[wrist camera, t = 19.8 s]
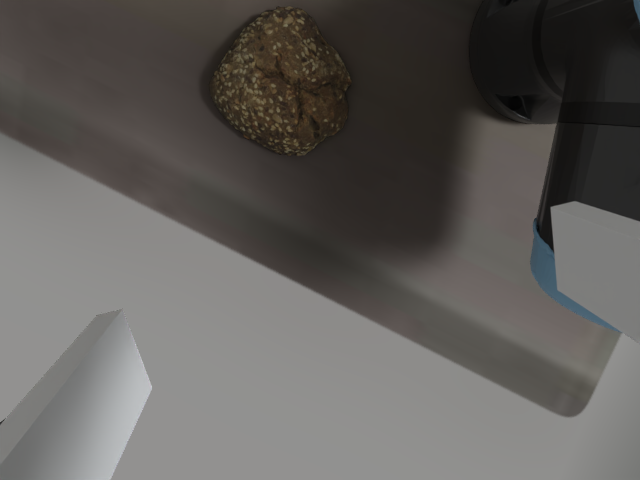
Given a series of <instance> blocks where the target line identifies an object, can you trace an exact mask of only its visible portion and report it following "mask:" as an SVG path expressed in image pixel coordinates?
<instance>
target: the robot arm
mask: <svg viewBox="0 0 640 480" xmlns="http://www.w3.org/2000/svg"><path fill="white" fill-rule="evenodd" d="M469 56H470V65H471V70H472V74H473V77H474V80H475V83H476V85H477V87H478V89H479V91H480V93H481V94H482V96H483V97H484V99H485V100H486V101H487V102H488V103H489V104H490V106H491V107H493V108H494V109H495V110H496V111H497V112H499V113H500V114H502V115H504V116H505V117H507V118H509V119H512V120H515V121H518V122H522V123H529V124H555V123H557V125H556V129H555V134H554V139H553V143H552V148H551V153H550V158H549V162H548V167H547V172H546V176H545V181H544V186H543V190H542V195H541V200H540V205H539V209H538V214H537V217H536V218H535V219H534V222H533V232H534V240H533V247H532V254H531V261H530V265H531V271H532V274H533V276H534V278H535V279H536V281H537V282H538V284H539V286H540V287H541V288H542V289H543V290H544V291H545V292H546V293H547V294H548V295H549V296H550V297H551V298H553V299H554V300H555V301H556V302H558V303H559V304H561V305H562V306H564V307H565V308H567V309H569V310H570V311H572V312H574V313H576V314H578V315H580V316H582V317H584V318H586V319H588V320H590V321H592V322H594V323H597V324H599V325H601V326H604V327H606V328H609V329H612V330H615V331H618V332H621V333H624V334H625V335H627V336H628V337H630V338H631V339H633V340H634V341H636V342H637V343H639V344H640V0H484V1H483V3H482V4H481V6H480V8H479V10H478V12H477V15H476V17H475V20H474V23H473V27H472V31H471V36H470V46H469ZM151 389H152V386H151V383H150V381H149V378H148V375H147V373H146V370H145V368H144V365H143V362H142V359H141V357H140V354H139V351H138V349H137V346H136V343H135V341H134V338H133V336H132V333H131V330H130V328H129V325H128V322H127V319H126V317H125V314H124V312H123V310H122V309H121V310H117V311H113V312H108V313H105V314H100V315H97V316H96V317H95V318H94V319H93V321H92V322H91V323H90V324H89V325H88V326H87V328H86V329H85V330H84V331H83V332H82V333H81V334H80V335H79V336H78V337H77V339H76V340H75V341H74V342H73V343H72V344H71V345H70V347H69V348H68V349H67V350H66V351H65V352H64V353H63V354H62V356H61V357H60V358H59V359H58V360H57V361H56V362H55V363H54V365H53V366H52V367H51V368H50V369H49V370H48V371H47V372H46V374H45V375H44V376H43V377H42V378H41V379H40V381H39V382H38V383H37V384H36V385H35V386H34V387H33V389H32V390H31V391H30V392H29V393H28V394H27V395H26V396H25V397H24V399H23V400H22V401H21V402H20V403H19V404H18V405H17V406H16V408H15V409H14V410H13V411H12V412H11V413H10V414H9V415H8V417H7V418H5V419H4V420H3V421H2V422H0V480H110V479H111V477H112V475H113V473H114V470H115V468H116V466H117V464H118V462H119V459H120V457H121V455H122V453H123V451H124V448H125V446H126V444H127V442H128V440H129V438H130V435H131V433H132V431H133V429H134V427H135V424H136V422H137V420H138V418H139V416H140V414H141V411H142V409H143V407H144V405H145V403H146V400H147V398H148V396H149V394H150V392H151Z"/></svg>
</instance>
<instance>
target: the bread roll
mask: <svg viewBox="0 0 640 480" xmlns="http://www.w3.org/2000/svg"><path fill="white" fill-rule="evenodd" d="M276 9H277V10H273V11H269V12H263V13H262V14H261V15H260V17H259V18H257V19H256V20H255V21H254V22H253V23H251V24H249V25H248V26H247V27H246V28H244V29H243V31H242V33H241V34H240V36H239V37H238V38H237V39H236V40H235V41H234V43H233V45H232V46H231V47H230V49H229V51H228V52H227V53H226V56H225V57H224V59H223V60H222V62H221V64H219V66H218V67H219V68H218V70H217V71H215V72H214V76H213V77H212V79H211V81H210V83H209V90H210V94H211V98H212V100H213V102H214V103H215V105H216V106H217V108H218V109H219V111H220V113H221V114H222V115H223V117H224V118H225V119H226V120H227V121H229V123H230V124H231V125H232V126H234V127H235V128H236V130H239V131H241V132H242V133H243V136H244V137H245V138H246V139H248V140H249V139H253V140H255V141H257V142H258V143H260V144H262V145H263V146H264V147H267V148H268V149H270V150H272V151H275V152H276V153H278V154H280V155H281V154H285V155H287V156H291V155H294V154H295V155H297V156H302V155H306V154H307V153H308V152H309V151H311V150H313V149H314V148H315V146H316V145H317V144H318V143H319V142H321V141H323V140H324V139H325V138H326V137H328V136H332V135H334V134H336V133H337V132H338V131H340V130H341V129H342V128H343V127H344V124H345V120H346V119H347V114H348V106H347V100H346V97H345V94H344V91H346V88H348V85H350V84H351V83H352V81H351V79H350V75H349V73H348V71H347V69H346V67H345V66H344V63H343V61H342V60H341V57H340V56H339V54H338V53H337V52H336V51H335V49H334V48H333V47H331V46H329V45H328V43H327V42H326V41H325V40H324V39H323V37H322V35H321V34H320V31H319V29H318V27H317V26H316V24H315V22H314V20H313V18H312V17H310V16H309V15H308V14H307V13H306V12H305V11H303V10H302V9H299V8H295V9H294V8H293V7H290V6H288V7H276Z"/></svg>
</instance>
